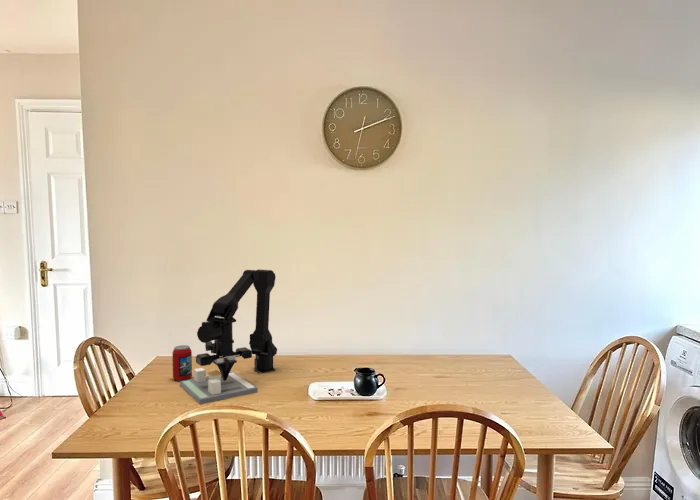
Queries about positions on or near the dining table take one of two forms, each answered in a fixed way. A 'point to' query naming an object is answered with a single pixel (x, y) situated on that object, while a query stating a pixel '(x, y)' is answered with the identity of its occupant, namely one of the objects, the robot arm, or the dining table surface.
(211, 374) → the block
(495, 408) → the dining table surface
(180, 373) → the beverage can
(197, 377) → the block
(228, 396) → the panel
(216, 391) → the block
